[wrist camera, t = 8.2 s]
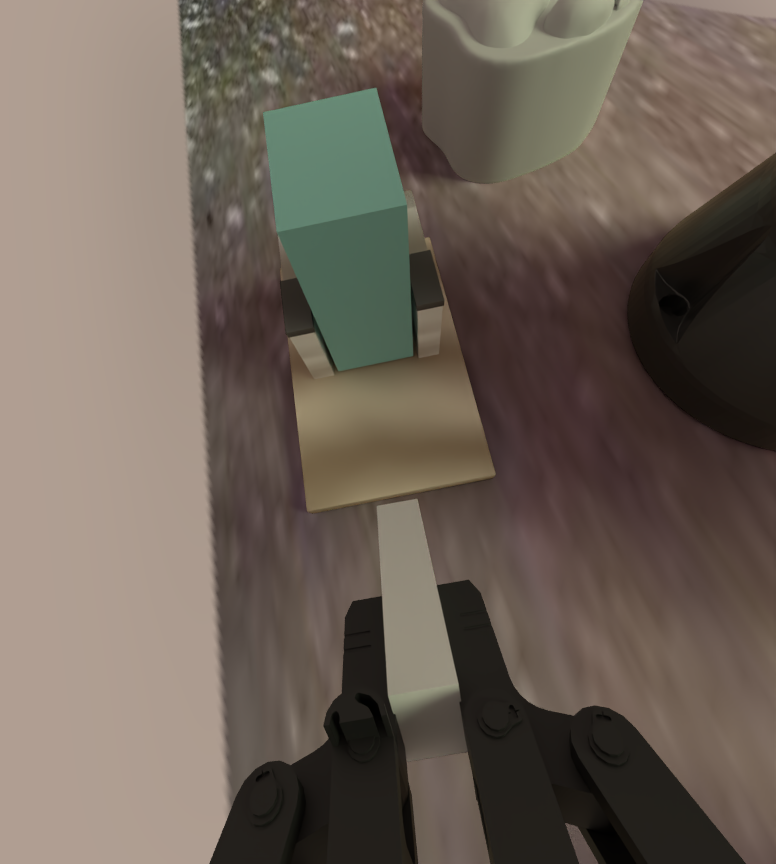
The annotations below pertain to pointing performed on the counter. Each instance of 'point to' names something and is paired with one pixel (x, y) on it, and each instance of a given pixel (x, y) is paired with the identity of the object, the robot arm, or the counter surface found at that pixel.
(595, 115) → the lumpy-topped squat cylinder
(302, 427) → the guide channel
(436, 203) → the counter surface
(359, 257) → the teal block
